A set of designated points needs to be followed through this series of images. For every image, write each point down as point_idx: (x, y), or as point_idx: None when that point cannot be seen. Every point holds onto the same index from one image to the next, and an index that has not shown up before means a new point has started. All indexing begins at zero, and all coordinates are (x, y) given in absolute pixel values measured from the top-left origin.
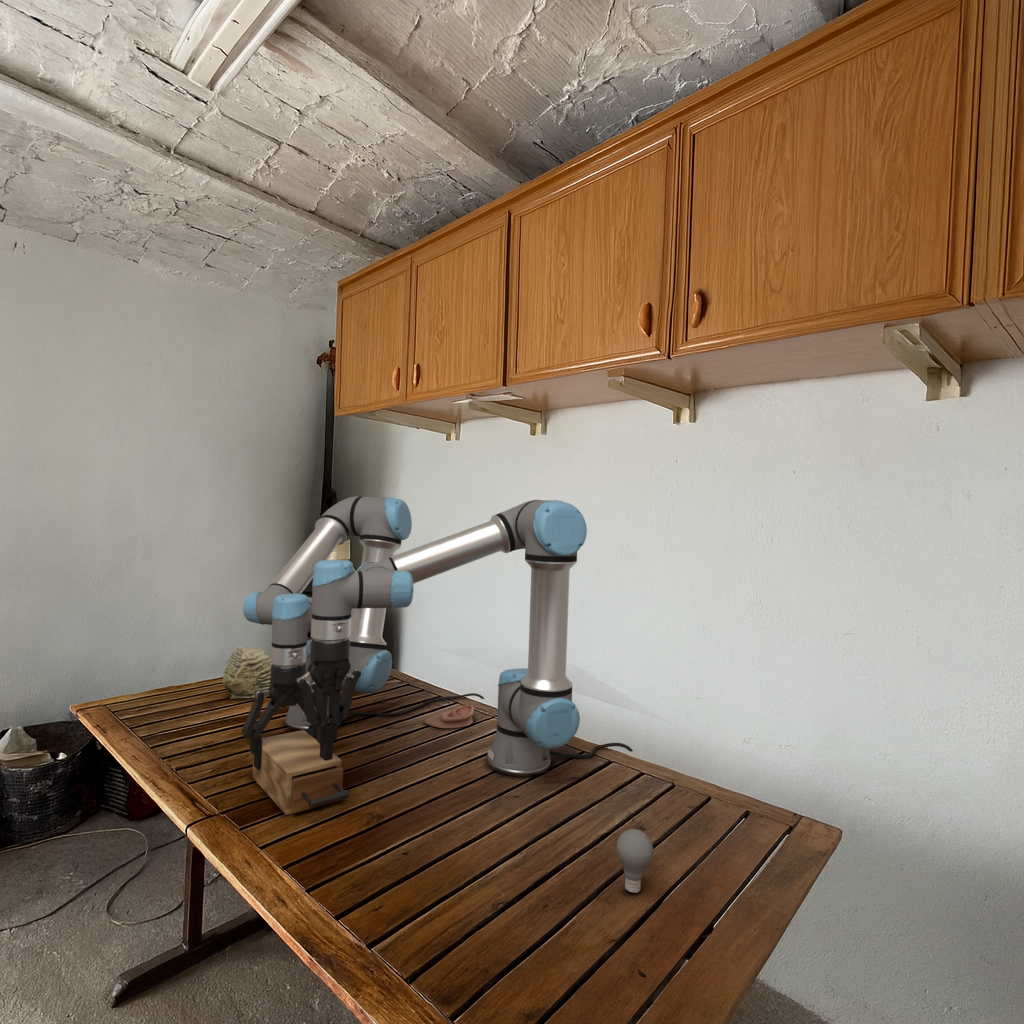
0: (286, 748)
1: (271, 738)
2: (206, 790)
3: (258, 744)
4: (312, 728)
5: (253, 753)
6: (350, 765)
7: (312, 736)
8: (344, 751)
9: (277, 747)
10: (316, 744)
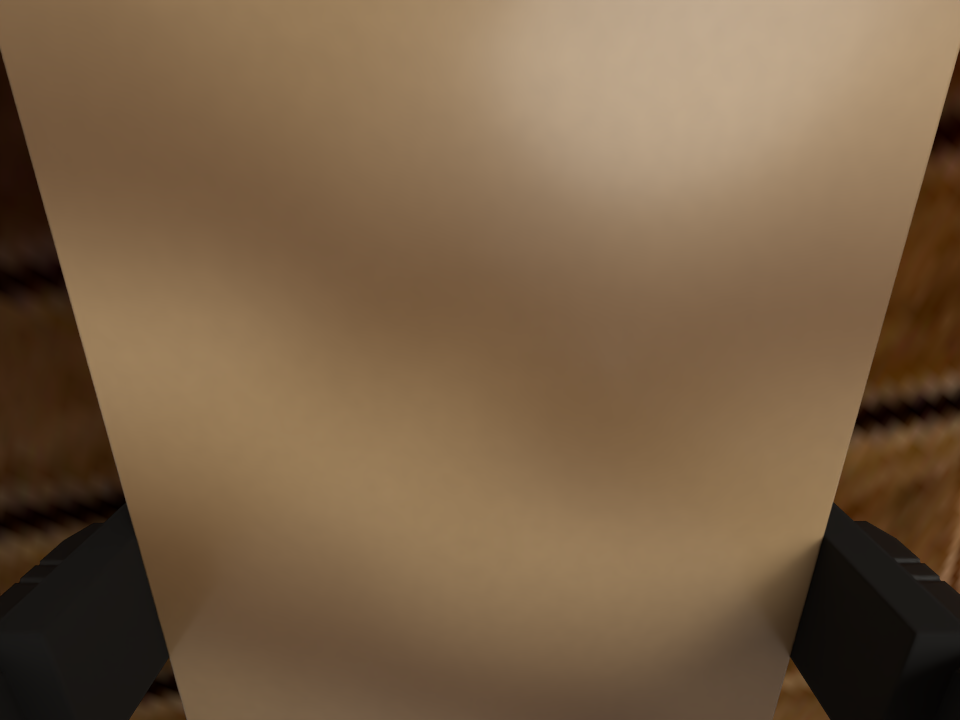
0: (582, 362)
1: (594, 714)
2: (920, 482)
3: (911, 580)
4: (54, 652)
5: (861, 527)
6: (7, 340)
7: (135, 550)
8: (14, 554)
9: (665, 456)
10: (134, 260)
